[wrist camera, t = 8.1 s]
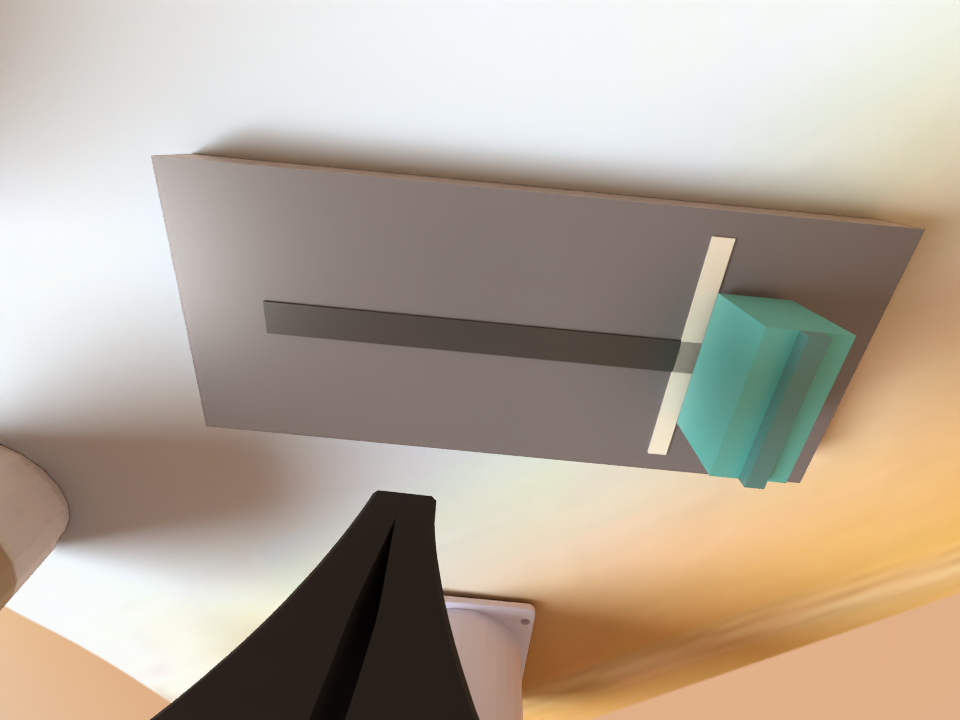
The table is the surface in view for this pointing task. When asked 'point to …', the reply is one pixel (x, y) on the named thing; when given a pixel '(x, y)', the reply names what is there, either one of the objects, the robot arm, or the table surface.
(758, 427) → the fader tab
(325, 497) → the table surface
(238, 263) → the fader console
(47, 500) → the coffee cup
